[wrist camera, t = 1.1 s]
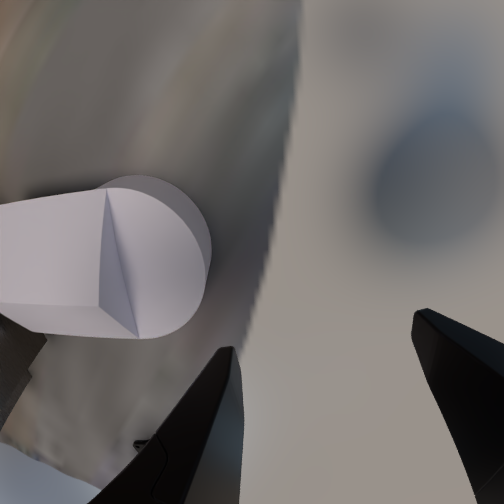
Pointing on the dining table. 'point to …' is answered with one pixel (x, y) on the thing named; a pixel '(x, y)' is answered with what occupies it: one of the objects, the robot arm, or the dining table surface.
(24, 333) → the gauge plunger
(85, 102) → the dining table surface
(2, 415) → the gauge housing
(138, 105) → the dining table surface
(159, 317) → the wedge on round base
